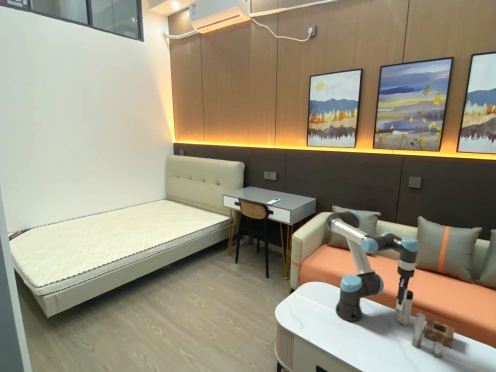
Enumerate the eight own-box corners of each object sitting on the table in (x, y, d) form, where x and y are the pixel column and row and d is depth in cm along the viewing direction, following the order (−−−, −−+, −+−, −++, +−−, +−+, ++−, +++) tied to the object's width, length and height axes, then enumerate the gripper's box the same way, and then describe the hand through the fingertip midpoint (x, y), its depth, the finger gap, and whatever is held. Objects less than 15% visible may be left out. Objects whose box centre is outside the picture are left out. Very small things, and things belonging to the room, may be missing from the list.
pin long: (411, 345, 138) (415, 315, 134) (412, 340, 141) (417, 311, 137) (419, 349, 135) (424, 319, 131) (421, 344, 138) (426, 314, 134)
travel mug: (403, 326, 151) (408, 295, 147) (394, 318, 157) (398, 288, 153) (412, 324, 153) (416, 293, 148) (403, 316, 159) (407, 287, 155)
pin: (394, 312, 141) (397, 289, 138) (396, 308, 144) (399, 285, 141) (402, 315, 138) (406, 292, 135) (404, 311, 141) (408, 288, 138)
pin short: (431, 354, 132) (433, 344, 131) (432, 350, 135) (434, 340, 134) (441, 359, 129) (443, 349, 128) (442, 354, 132) (444, 344, 131)
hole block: (423, 337, 143) (425, 327, 142) (426, 326, 151) (428, 317, 149) (451, 348, 136) (453, 339, 134) (452, 337, 143) (454, 328, 142)
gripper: (411, 276, 127) (404, 318, 132) (417, 263, 139) (411, 302, 144) (394, 271, 131) (388, 311, 137) (401, 258, 144) (396, 296, 149)
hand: (400, 306), depth 140 cm, fingers closed on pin, 4 cm apart
